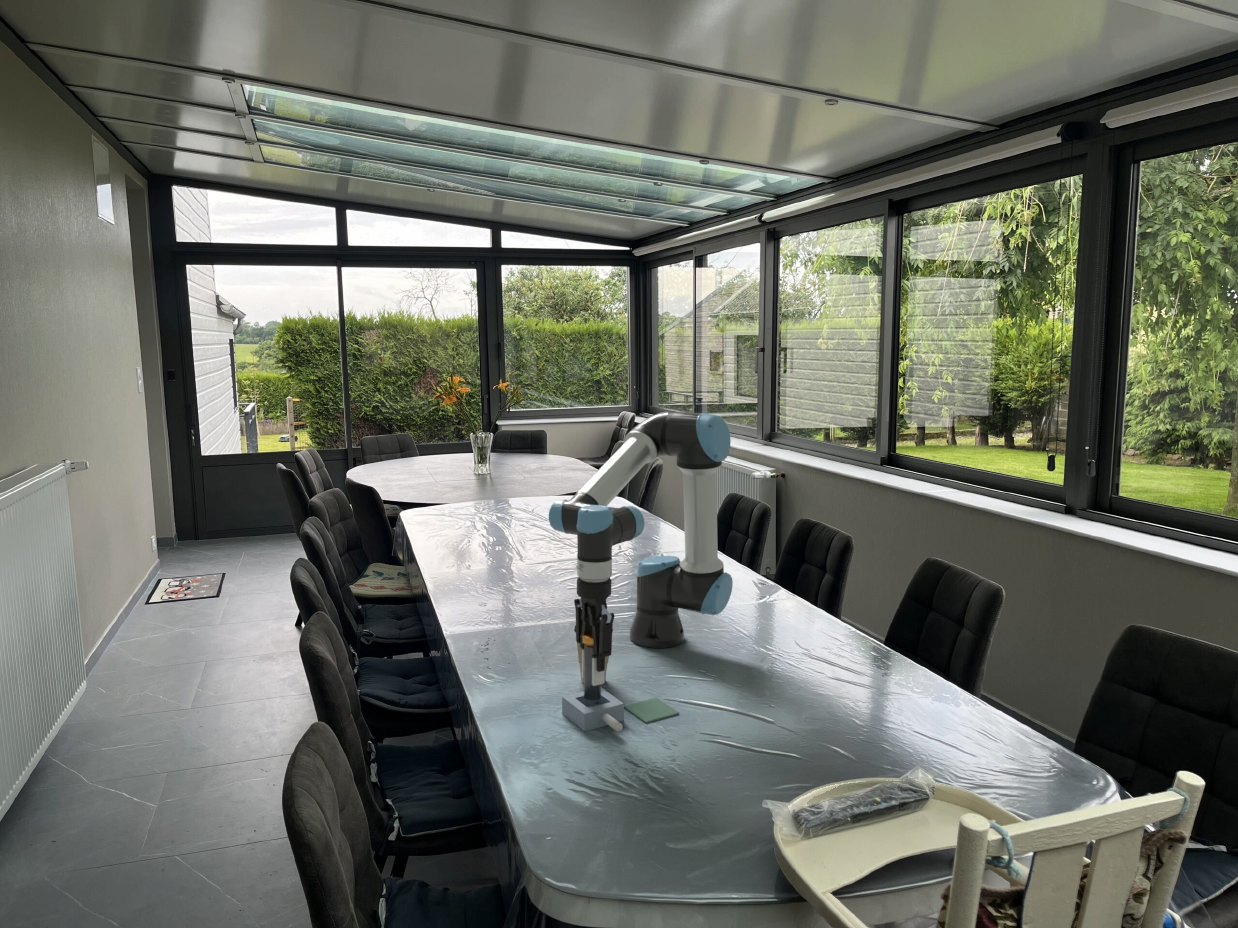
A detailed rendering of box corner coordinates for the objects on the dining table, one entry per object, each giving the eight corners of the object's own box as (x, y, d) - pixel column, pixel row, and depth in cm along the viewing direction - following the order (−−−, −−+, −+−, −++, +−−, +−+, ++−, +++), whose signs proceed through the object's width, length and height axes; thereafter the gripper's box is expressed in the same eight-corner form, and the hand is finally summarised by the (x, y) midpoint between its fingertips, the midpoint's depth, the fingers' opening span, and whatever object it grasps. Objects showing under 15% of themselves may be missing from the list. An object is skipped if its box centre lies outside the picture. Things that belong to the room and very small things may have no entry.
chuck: (562, 713, 187) (562, 696, 186) (600, 703, 192) (600, 686, 191) (598, 743, 173) (598, 724, 173) (638, 731, 178) (639, 714, 178)
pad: (623, 707, 190) (623, 705, 190) (656, 699, 195) (656, 697, 195) (645, 723, 182) (645, 721, 182) (679, 713, 187) (679, 712, 187)
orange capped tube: (578, 694, 185) (578, 634, 183) (596, 690, 187) (596, 630, 185) (588, 702, 181) (589, 640, 179) (606, 698, 183) (607, 637, 181)
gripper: (560, 570, 185) (559, 670, 189) (599, 590, 171) (597, 698, 175) (589, 565, 189) (588, 664, 193) (629, 584, 175) (627, 690, 179)
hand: (592, 680), depth 184 cm, fingers closed on orange capped tube, 4 cm apart
